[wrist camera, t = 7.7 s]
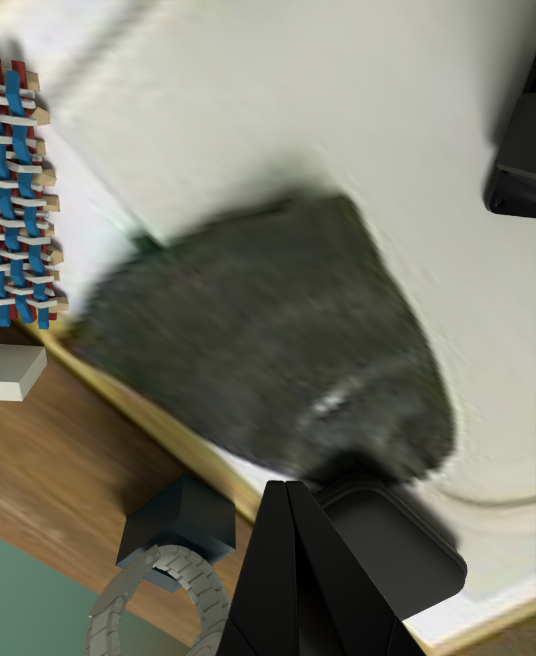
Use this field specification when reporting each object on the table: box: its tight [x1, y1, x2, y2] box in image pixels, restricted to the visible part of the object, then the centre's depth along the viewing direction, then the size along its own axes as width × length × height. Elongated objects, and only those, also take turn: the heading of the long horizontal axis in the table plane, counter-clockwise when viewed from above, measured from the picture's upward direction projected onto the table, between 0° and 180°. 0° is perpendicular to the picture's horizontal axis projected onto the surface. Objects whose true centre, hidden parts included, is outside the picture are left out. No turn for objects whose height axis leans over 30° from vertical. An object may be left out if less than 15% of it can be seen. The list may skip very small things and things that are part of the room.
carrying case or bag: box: [313, 472, 467, 621], centre depth 30 cm, size 11×3×15 cm
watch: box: [84, 473, 236, 656], centre depth 23 cm, size 6×8×11 cm
